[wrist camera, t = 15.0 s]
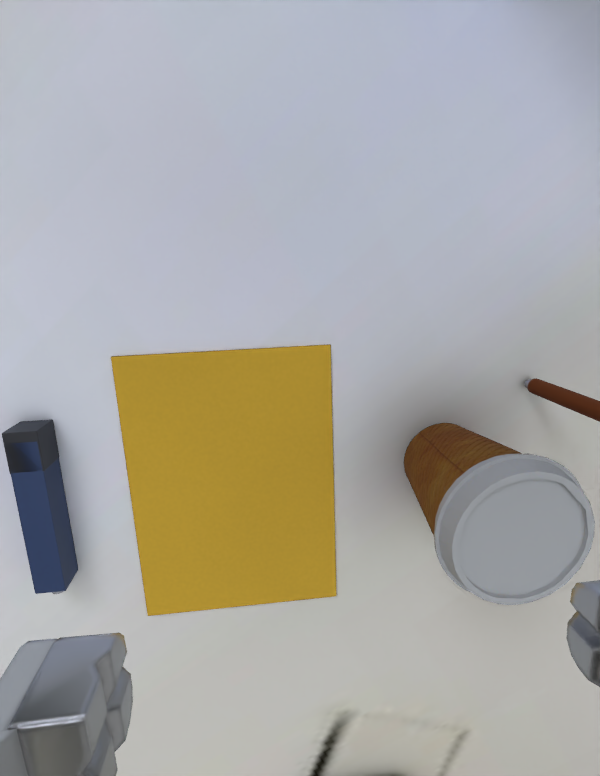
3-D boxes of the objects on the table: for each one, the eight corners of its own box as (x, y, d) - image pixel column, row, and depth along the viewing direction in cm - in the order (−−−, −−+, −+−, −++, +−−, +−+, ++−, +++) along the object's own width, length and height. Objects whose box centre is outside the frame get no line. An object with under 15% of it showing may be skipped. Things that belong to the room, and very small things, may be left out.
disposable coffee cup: (502, 493, 39) (608, 585, 27) (396, 524, 39) (458, 630, 27) (487, 389, 37) (596, 443, 25) (373, 421, 36) (430, 490, 25)
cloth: (111, 356, 33) (110, 357, 33) (330, 344, 34) (330, 344, 34) (148, 614, 38) (147, 615, 38) (335, 594, 40) (336, 596, 40)
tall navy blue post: (80, 578, 37) (68, 600, 34) (51, 580, 37) (36, 603, 34) (52, 419, 34) (36, 431, 31) (20, 421, 33) (1, 433, 31)
